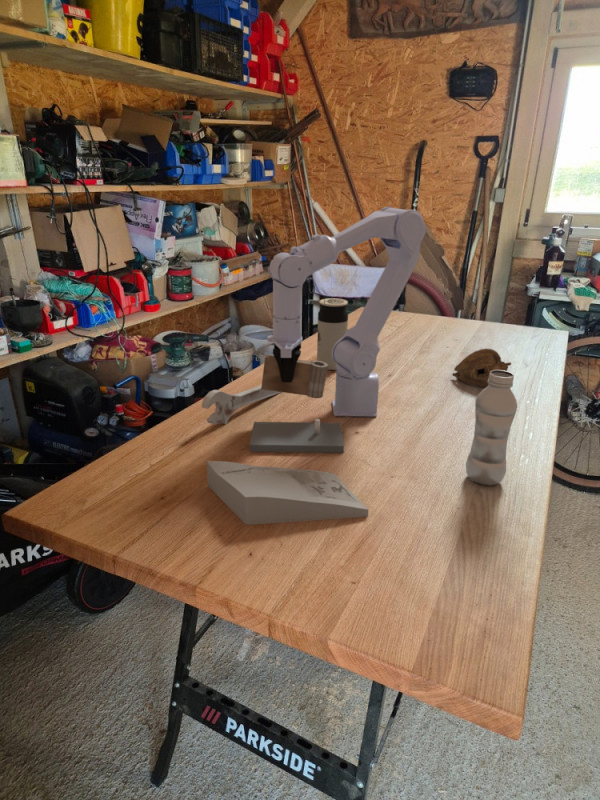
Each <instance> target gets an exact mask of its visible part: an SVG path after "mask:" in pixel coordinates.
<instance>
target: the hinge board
mask: <svg viewBox="0 0 600 800" xmlns="http://www.w3.org/2000/svg"><path fill="white" fill-rule="evenodd" d="M344 449H345V444H344V437H343V430H342V423H341V422H321V420H320V418H319V419H318V418H315V419H314V422H312V421H311V422H310V421H309V422H308V421H307V422H305V421H304V422H300V421H299V422H295V421H294V422H293V421H289V422H288V421H253V425H252V430H251V435H250V440H249V453H250V452H251V453H253V452H255V453H256V452H257V453H258V452H259V453H260V452H261V453H262V452H263V453H314V454H315V453H318V454H319V453H321V454H322V453H323V454H325V453H328V454H329V453H330V454H336V453H337V454H343V453H344V451H345V450H344Z"/></svg>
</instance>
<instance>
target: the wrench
mask: <svg viewBox="0 0 600 800" xmlns="http://www.w3.org/2000/svg"><path fill="white" fill-rule="evenodd" d="M261 387H262V384H260V385H258V386H256V387H252V388H249V389H247V390H244V391H240V392H238V393H235V394H232V393H227V392H225V391H224V392H223V391H222V390H218V389H213V390H210V391H208V393H207V394H206V395H205V396H204V398H203V400H202V402H201V408H203V409H206V410H209V409H210V408H211V407H212V406H213V405H215V410H214V412H212V413H211V415H209V416H208V417H207V418H206V422H207V423H208V424H211V425H219V424H223V425H228V422H229V419H231V417H232V416H233V414H235V412H237V410H239V409H241V408H242V407H245V406H247V405H250V404H253V403H255V402H258V401H261V400H264V399H266V398H269V397H272V396H275V395H278V394H281V393H282V392H278V391H270V390H263V389H261Z"/></svg>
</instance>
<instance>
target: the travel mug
mask: <svg viewBox="0 0 600 800" xmlns="http://www.w3.org/2000/svg"><path fill="white" fill-rule="evenodd" d="M318 302H319V304H320V309H319V311H318V313H317V339H316V340H317V342H316V343H317V346H316V348H317V349H316V351H317V352H316V361H322V362H325V363H327V364H328V368H327V371H336V369H337V363H336V362H335V361H334V360H333V357H332V349H333V347H334V345H335V343H336V342H337V341H339V340H340V339H341V338H342V337H343V335H344V333H345V332H346V331H347V330H348V327H349V326H348V325H349V324H348V322H349V312H348V311H347V305H348V304H349V301H348V300H346V299H342V298H337V297H336V298H333V297H331V298H323V299H320V300H319V301H318Z"/></svg>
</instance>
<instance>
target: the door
mask: <svg viewBox="0 0 600 800" xmlns="http://www.w3.org/2000/svg"><path fill="white" fill-rule="evenodd" d="M264 356H265V357H264V362H263V372H262V379H261V380H262V381H261V385H262V387H261V389H263V390H270V391H278V392H281V393H286V394H291V395H292V394H293V395H302V396H307V397H308V398H311V399H321V398H323V396H324V389H325V385H326V380H327V379H326V378H327V374H328V370H327V368H328V364H327V363H325V362H322V361H317V360H304V359H298V360H297V363H296V366H295V370H294V376H293V380H292V382H282V380H281V377H280V371H279V366H278V363H277V361H276V359H275V357H274V355H269V354H268V355H267V354H265V355H264Z"/></svg>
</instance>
